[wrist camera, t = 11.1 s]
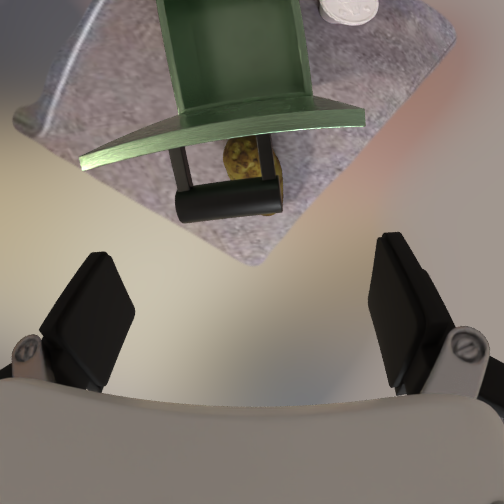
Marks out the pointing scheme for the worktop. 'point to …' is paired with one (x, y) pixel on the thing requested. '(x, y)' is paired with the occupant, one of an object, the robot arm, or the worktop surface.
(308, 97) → the lid
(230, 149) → the potato
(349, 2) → the smoothie
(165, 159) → the worktop surface
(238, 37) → the caddy
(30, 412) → the robot arm
